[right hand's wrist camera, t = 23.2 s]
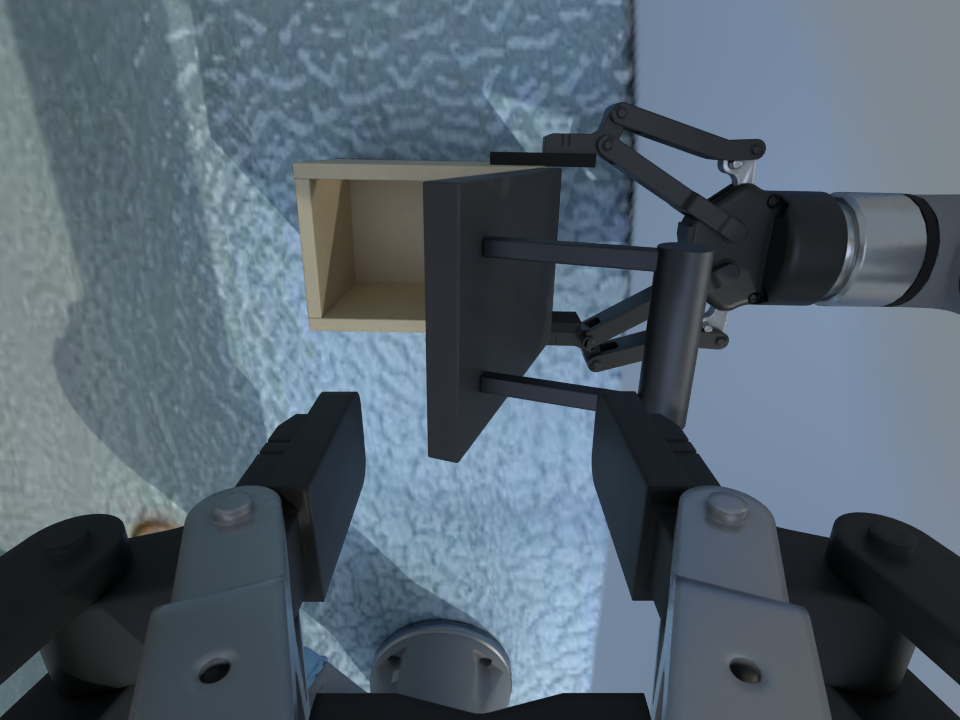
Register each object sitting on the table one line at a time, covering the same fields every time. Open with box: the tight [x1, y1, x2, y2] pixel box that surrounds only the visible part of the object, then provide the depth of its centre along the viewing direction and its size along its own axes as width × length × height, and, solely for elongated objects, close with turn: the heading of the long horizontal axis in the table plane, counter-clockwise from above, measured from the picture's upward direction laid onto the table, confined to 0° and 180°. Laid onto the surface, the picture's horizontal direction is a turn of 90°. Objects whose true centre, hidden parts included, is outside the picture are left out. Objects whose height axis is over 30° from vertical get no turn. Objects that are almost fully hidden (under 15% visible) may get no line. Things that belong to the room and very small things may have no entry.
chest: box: [293, 159, 549, 333], centre depth 39 cm, size 15×10×11 cm
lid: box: [423, 168, 715, 463], centre depth 25 cm, size 16×10×9 cm
